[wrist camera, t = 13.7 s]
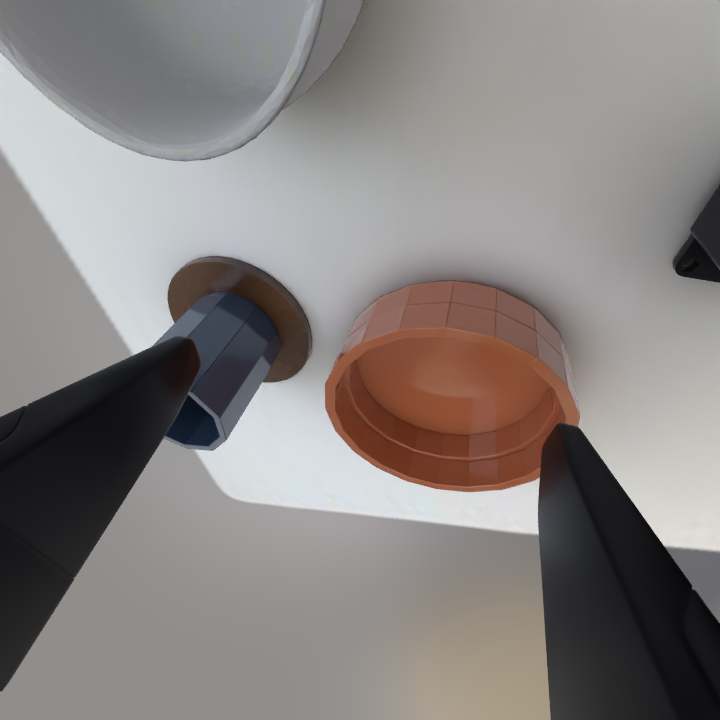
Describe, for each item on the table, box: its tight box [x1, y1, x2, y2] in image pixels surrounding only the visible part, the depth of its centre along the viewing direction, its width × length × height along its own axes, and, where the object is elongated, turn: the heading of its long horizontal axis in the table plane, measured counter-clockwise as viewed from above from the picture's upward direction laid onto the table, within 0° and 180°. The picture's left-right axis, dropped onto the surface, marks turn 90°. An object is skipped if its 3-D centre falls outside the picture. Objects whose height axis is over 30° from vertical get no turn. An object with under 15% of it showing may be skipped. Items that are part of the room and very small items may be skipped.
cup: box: [152, 292, 280, 451], centre depth 24 cm, size 6×6×8 cm
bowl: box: [325, 281, 580, 492], centre depth 23 cm, size 13×13×4 cm
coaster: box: [168, 257, 312, 382], centre depth 26 cm, size 10×10×1 cm
